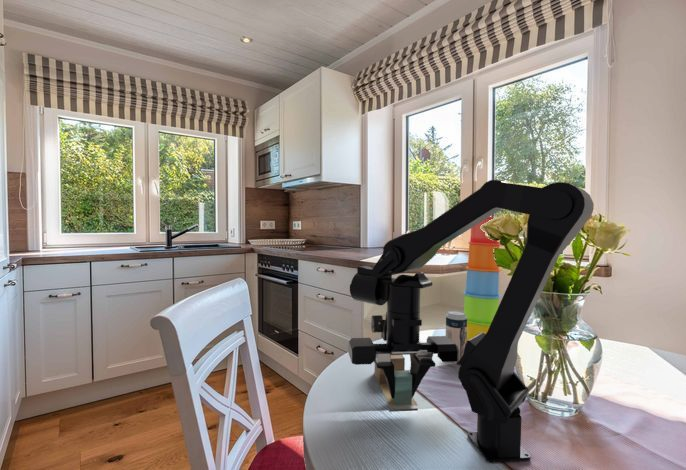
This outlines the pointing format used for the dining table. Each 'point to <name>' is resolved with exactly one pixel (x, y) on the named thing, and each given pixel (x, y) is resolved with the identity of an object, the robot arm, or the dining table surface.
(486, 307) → the stacking cups
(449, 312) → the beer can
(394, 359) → the walnut cube
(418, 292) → the robot arm
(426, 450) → the dining table surface
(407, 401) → the green toy block
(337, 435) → the dining table surface
